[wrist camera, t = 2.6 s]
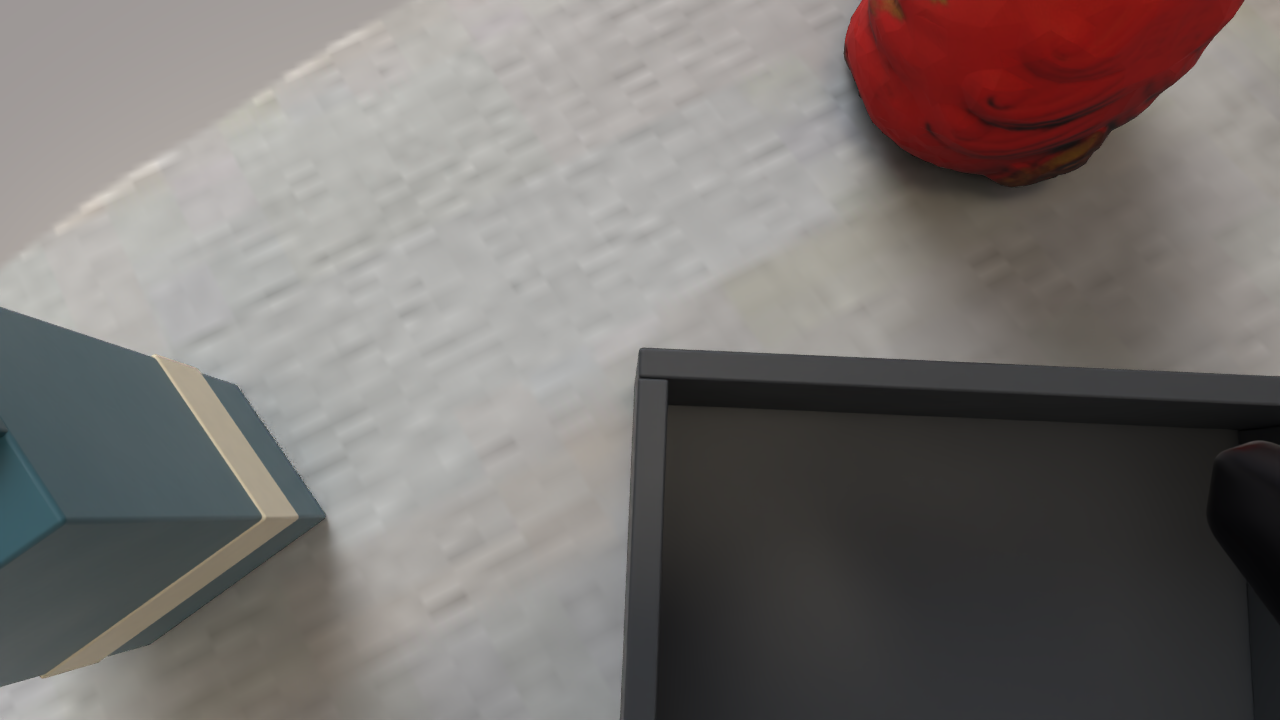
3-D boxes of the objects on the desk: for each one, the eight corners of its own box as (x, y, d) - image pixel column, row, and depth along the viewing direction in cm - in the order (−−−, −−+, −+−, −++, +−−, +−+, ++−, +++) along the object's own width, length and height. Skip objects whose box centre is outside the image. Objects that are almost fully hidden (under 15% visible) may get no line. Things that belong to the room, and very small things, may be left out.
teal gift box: (331, 516, 23) (48, 523, 12) (147, 649, 22) (-340, 791, 11) (236, 380, 23) (-125, 257, 12) (55, 506, 23) (-506, 502, 11)
